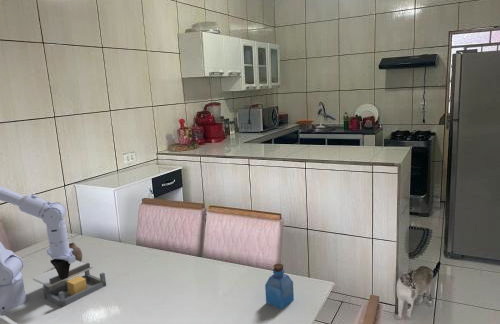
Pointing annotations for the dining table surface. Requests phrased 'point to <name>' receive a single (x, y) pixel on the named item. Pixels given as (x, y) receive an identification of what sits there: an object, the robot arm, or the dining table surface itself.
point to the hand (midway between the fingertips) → (64, 278)
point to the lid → (53, 277)
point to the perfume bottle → (279, 288)
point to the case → (63, 298)
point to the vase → (76, 252)
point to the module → (76, 285)
